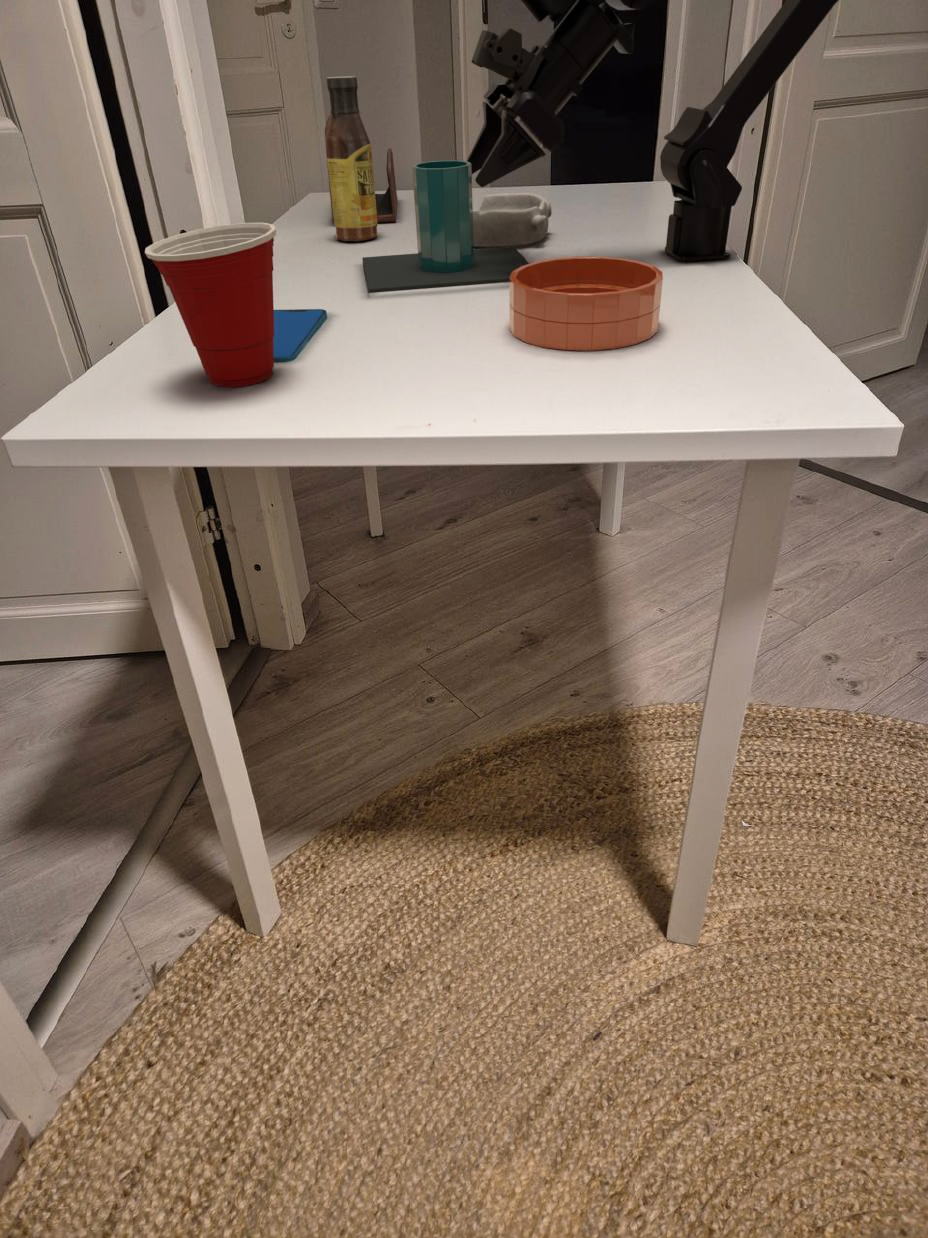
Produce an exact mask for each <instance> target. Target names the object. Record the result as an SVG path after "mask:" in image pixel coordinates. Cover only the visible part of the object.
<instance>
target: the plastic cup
mask: <svg viewBox="0 0 928 1238" xmlns="http://www.w3.org/2000/svg"><path fill="white" fill-rule="evenodd" d="M276 236H277V228H276V226H275V224H272V223H266V222H238V223H231V224H229V223H228V224H221V225H215V226H210V227H204V228H199V229H195V230H191V231H185V232H183V233H179V234H175V235H173V236H169V237H166V238H163V239H161V240H158V241H155V242H154V243H152V244H150V245H148V246H146V247H145V250H144V254H145V257H147V259H149V260H151V262H152V263H153V264H154V265H155V267H157V269H158V272H159V273H160V275H161V276H162V278H163V280H164V282H165V284H166V286H167V287H168V288H169V291H170V294H171V296H172V298H173V300H174V302H175V305H176V307H177V309H178V312H179V314H180V317H181V319H182V322H183V324H184V327H185V329H186V331H187V334H188V336H189V339H190V341H191V343H192V346H193V347H194V348H195V350H196V352H197V353H196V354H197V355H198V358H199V360H200V362H201V365H202V368H203V370H204V373H205V376H206V377H207V378H208V380H209V382H210V383H211V384H213V385H215V386H218V387H225V388H229V387H230V388H239V387H245V386H246V387H247V386H251V385H256V384H258V383H262V382H263V381H265V380H268V379H270V378H271V376H272V375H273V374H274V366H275V362H274V350H273V337H274V310H275V308H274V280H273V279H274V277H273V275H274V273H273V271H274V259H273V258H274V246H275V245H274V241H275V237H276Z"/></svg>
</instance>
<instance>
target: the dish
mask: <svg viewBox="0 0 928 1238" xmlns="http://www.w3.org/2000/svg"><path fill="white" fill-rule="evenodd" d="M552 212H553V210H552V205H551V203H550V201H549V200H547V199H545V198H544V197H542V196H541V195H538V194H535V193H530V192H529V193H526V192H525V193H524V192H523V193H522V192H518V193H517V192H513V193H512V192H510V193H509V192H508V193H495V194H485V195H484V196H483V197H482V199H481V201H480V202H479V206H478V207H477V209H473V238H474V247H481V248H483V247H485V248H498V247H512V246H522V245H523V246H524V245H530V244H533V243H537V242H539V241H542V240H543V239H544V238H545V237H546V236H547V234H548V230H549V218H550V217H551V216H552Z"/></svg>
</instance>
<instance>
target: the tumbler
mask: <svg viewBox="0 0 928 1238" xmlns="http://www.w3.org/2000/svg"><path fill="white" fill-rule="evenodd" d="M411 166H412V169H411V170H412V182H413V198H414V212H415V213H414V214H415V227H416V228H415V231H416V242H417V243H416V244H417V245H416V246H417V253H418V261H419V264H420V269H422V270H424V271H428V272H436V273H448V272H458V271H463V270H467V269H469V268H471V267H473V260H474V249H475V246H474V238H473V210H474V208H473V207H474V206H473V205H474V204H473V174H472V168H471V163H470V162H467V160H455V159H454V160H453V159H451V160H433V161H424V162H419V163H415V164H413V165H411Z"/></svg>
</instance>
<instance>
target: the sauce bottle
mask: <svg viewBox="0 0 928 1238" xmlns="http://www.w3.org/2000/svg"><path fill="white" fill-rule="evenodd" d="M326 85H327V87H326V88H327V91H328V93H329V102H330V115H332V119H331V122H330V125H329V127H328V129H327V133H326V142H325V147H326V146H327V154H328V157H327V156H326V163H327V162H328V167H327V172H328V171H329V177H328V181H329V180H330V189H329V191H330V190H331V199H332V208H333V217H334V224H333V226H334V225H335V226H334V227H335V234H336V238H337V240H339V241H342V242H361V241H368V240H372V239H375V238H376V237H377V236H378V228H377V227H378V223H377V212H376V200H375V194H376V189H375V176H374V165H373V154H372V143H371V140H370V137H369V136H368V133H367V130H366V127H365V125H364V122H363V120H362V117H361V115H360V109H359V100H358V99H359V98H358V90H359V89H358V88H359V84H358V78H357V76H356V75H348V76H347V75H346V76H329V77H326ZM331 199H330V200H331Z"/></svg>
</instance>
